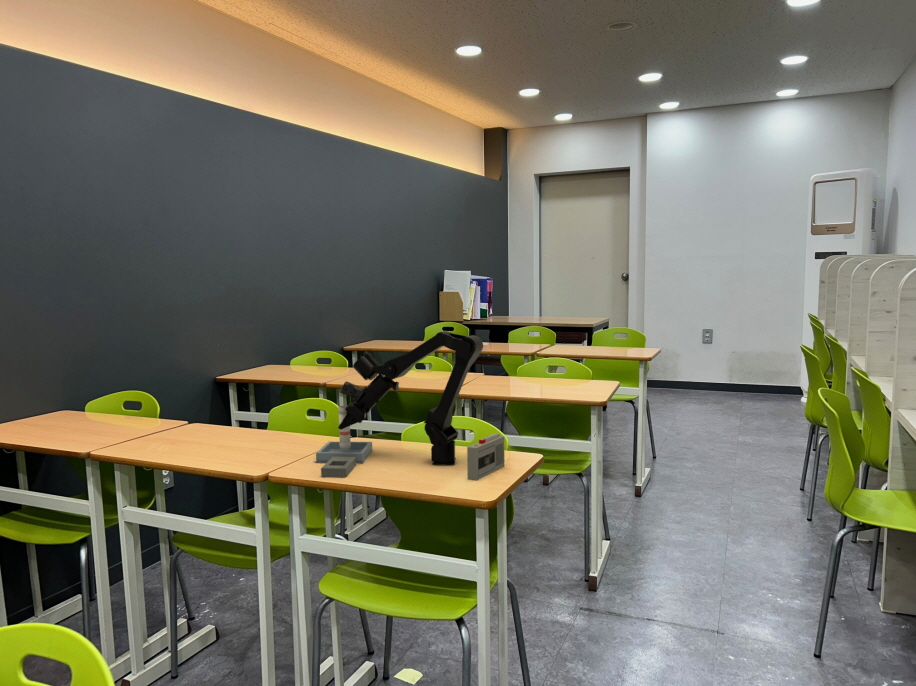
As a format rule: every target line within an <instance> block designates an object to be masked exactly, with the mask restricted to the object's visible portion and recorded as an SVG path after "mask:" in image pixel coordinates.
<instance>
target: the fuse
mask: <svg viewBox="0 0 916 686" xmlns="http://www.w3.org/2000/svg"><path fill="white" fill-rule="evenodd" d="M347 406H348V405H339V406H338V409H337V410H338V412H337V413H338V426H339V425H340V424H341V422H342V420H343V419H344V417H345V416H346V414H347V412H346V410H345V408H346V407H347ZM338 429H339V428H338ZM338 432H339V433H338V434H339V435H338V436H339V441H338V442H339V446H340V449H341V450H348V449H351V442H352V441H351V426H348V427H346V428H344V429H341V430H340V429H339V430H338Z"/></svg>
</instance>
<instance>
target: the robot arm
mask: <svg viewBox="0 0 916 686" xmlns="http://www.w3.org/2000/svg"><path fill="white" fill-rule="evenodd" d="M443 347H445V348H447V349H448V350H452V351H454V365H453V368H452V370H451V372H450V375H449V377H448V379H447V383H446V385H445V388H444V390H443V392H442V395H441V398H440V400H439V403H438V406H437V407H434V408H431V409H429V410H428V412H427V414H426V419H425V420H424V422H423V424H424V428H423V429H424V432H425V434H426V435H427V436H428V439H429V442H430V444H431V448H430V450H431V453H430V455H431V456H430V457H431V459H430V461H431V462H432V463H431V464H432V465H440V466H442V465H444V466H445V465H446V466H453V465H455V464H456V461H457V457H456V440H457V439H458V436H459V432H458V431H457V429H456V428H455V427H454V426H453V425H452V423H453V410H454V407H455V405H456V402H457V400H458V397H459V395H460V393H461V390H462V387H463V385H464V382H465V380H466V377H467V375H468V373H469V371H470V368H471V367H472V365H473V364H474V363H475V362H476V360H477V359H478V358H479V356H480V354H481V353H482V351H483V350H484V343H483V340H482V338H481V337H479V336H477V335H469V336H468V335H464V334H458V333H455V332H454V333H453V332H450V331H447V330H443V331H439V332H437V333H436V334H435V335H433V336H432V337H431V338H429V339H427V340H426V341H423V343H421V344H419V345H418V346H416V347H415V348H413V349H411V350H410V351H408V352H407V353H405V354H403V355H399V356H397V357H393V358H392V359H389V360H387V361H385V362H383V363H381V364H380V363H379V362H378V361H377V359H376V358H374V355H372V353H370V352H365V353H364V355H362V356H361V357H359V359H357V360H355V362H354V363H353V364H352V369H354V370H355V371H356V372H357V373H358V374H359V375H360V377H362V379H363V380H364V381H368V380H369V381H370V383H369V384H368V385H367V386H364V387H363V388H362V387H361V386H358V385H356V384H354V383H352V382H350V381H345V382H344V383H343V385H342V387H341V389H340V391H339V393H340V394H342V395H346V396H348V397H350V398H352V401H351V402H349V404H348V405H346V406H347V407H346V408H345V410H346V412H347V414H346V416H345V417H344V419H343V420H342V422H341V424H340V425H339V424H338V426H337V428H338V429H340V430H341V429H344V428H346V427H348V426H350V427H351V426H352V425H355V424H357V423H359V424H361V423H363V421H364V420H365V419H366V417H367V414H368V413H369V412H370V411H371V410H372V409H373V407H375V405H377V404H378V403H379V402H380V401H381V399H383V398H384V396H385V395H386V394H387V393H388V392H389V391H390V390H391V389H392V390H393V392H394V391H395V392H399V390H400V387H399V385H400V382H399V381H394V380H395V379H399V378H402V377H404V376H406V375H407V373H409V372H410V371H411V370H412V369H413V368H414V366H415V365H416V364H418V363H419V362H421V361H422V360H424V359H425V358H427V357H428V356H430V355H432V354H434V353H435V352H437V351H439V349H441V348H443Z"/></svg>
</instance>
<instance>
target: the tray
mask: <svg viewBox="0 0 916 686" xmlns="http://www.w3.org/2000/svg"><path fill="white" fill-rule="evenodd" d="M339 442H340V441H333V440H332V441H328V442H327V443H325V444H324V445H323V446H322V447H321V448H319V450H317V451H316V453H315V459H316V460H315V461H316V462H315V463H316V464H326V463H327V462H328V461H329V460H330V459H331V458H332V457H356V464H363V463H365V462H366V460H367V459H368V457H369V456H370V455H371V453H373V441H350V442H351V449H348V450H341V449H340V446H339Z"/></svg>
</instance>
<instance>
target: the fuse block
mask: <svg viewBox="0 0 916 686" xmlns="http://www.w3.org/2000/svg"><path fill="white" fill-rule="evenodd" d="M356 466H357V463H356V457H332V458H331V459H330V460H329V461H328V462H327V463H324V464H323V466H322V467H321V468H320V472H321V475H320V477H321V478H348V476H349V475H350V473H351V472H352V471H353V470H354V469H355V468H356Z"/></svg>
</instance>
